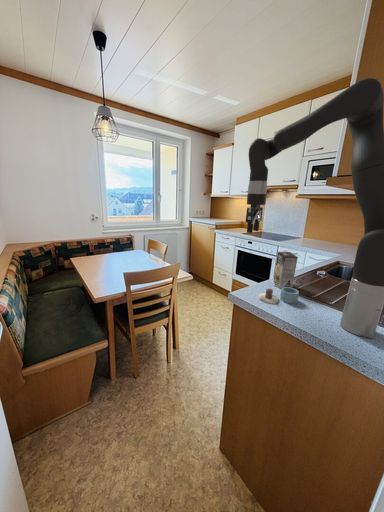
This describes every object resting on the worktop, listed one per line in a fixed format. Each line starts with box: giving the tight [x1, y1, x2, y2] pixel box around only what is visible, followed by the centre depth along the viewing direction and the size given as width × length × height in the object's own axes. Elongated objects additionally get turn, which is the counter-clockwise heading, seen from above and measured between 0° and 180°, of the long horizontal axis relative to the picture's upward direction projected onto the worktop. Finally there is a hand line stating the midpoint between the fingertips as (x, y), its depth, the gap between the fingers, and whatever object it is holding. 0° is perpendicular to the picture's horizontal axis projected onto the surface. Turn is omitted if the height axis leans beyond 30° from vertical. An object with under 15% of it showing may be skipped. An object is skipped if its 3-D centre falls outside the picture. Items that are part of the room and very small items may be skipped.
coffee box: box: [273, 251, 299, 289], centre depth 103 cm, size 9×6×16 cm
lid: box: [258, 288, 280, 305], centre depth 89 cm, size 8×8×4 cm
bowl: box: [279, 287, 300, 305], centre depth 89 cm, size 7×7×4 cm
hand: (252, 231), depth 92 cm, fingers open, 8 cm apart
